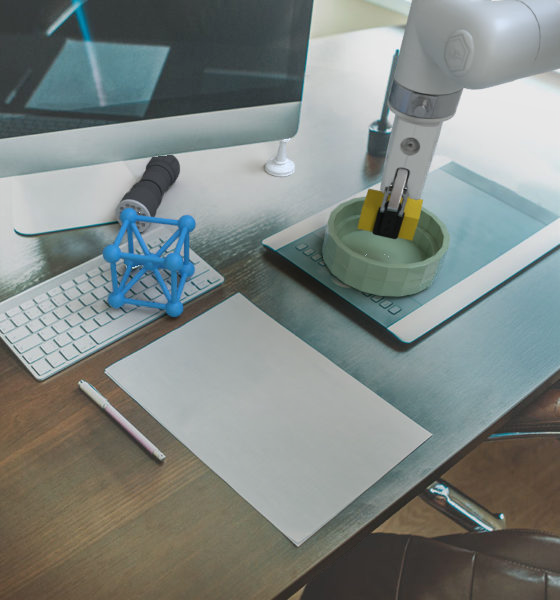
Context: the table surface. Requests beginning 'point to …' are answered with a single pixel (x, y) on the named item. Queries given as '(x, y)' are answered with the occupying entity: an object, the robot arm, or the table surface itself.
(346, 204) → the bowl
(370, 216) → the sponge
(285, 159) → the chess piece
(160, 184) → the flashlight
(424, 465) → the table surface
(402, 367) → the table surface
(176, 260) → the molecular structure
